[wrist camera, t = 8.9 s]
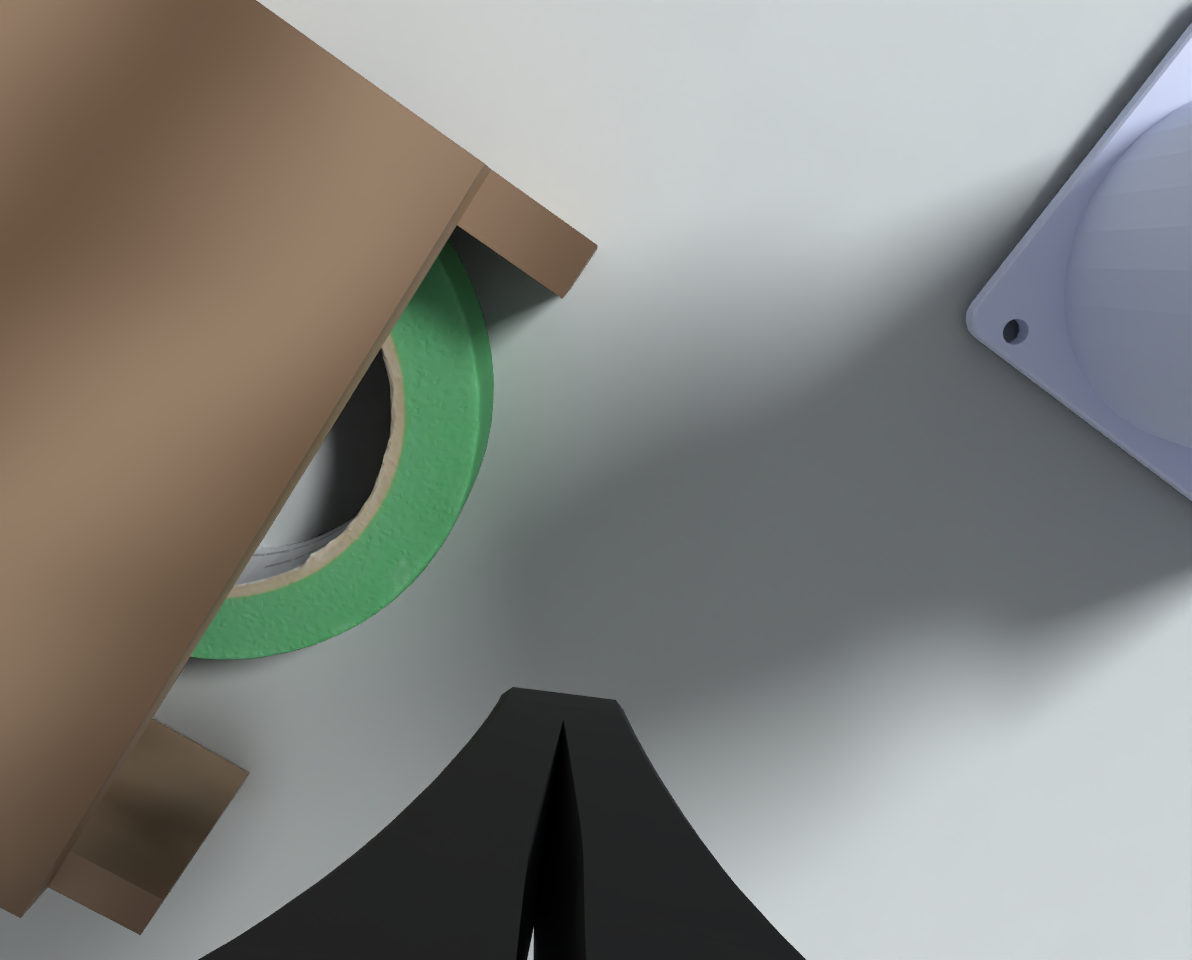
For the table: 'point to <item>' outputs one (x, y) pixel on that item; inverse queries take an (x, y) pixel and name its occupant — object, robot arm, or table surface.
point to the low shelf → (180, 380)
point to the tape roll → (381, 486)
